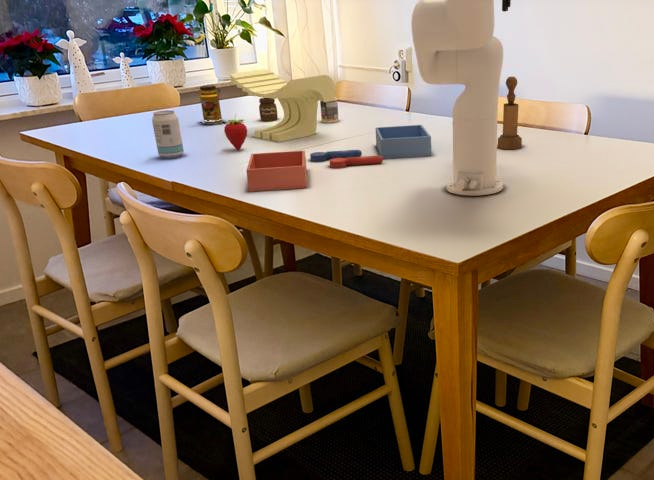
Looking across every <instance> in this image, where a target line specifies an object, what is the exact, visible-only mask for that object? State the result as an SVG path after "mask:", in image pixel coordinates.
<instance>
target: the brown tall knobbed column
mask: <svg viewBox="0 0 654 480" xmlns="http://www.w3.org/2000/svg"><path fill="white" fill-rule="evenodd" d="M517 85H518V78H517V77H515V76H508V77H507V78H506V80H505V86H506V88H507V90H508V93H507V95H506V98H507V103H503V117H502V134H501V135H500V136H499V137H497V149H498V148H499V149H500V150H517V149H520V148H522V147H523V144H522V143H523V138H522V137H521V135H519V134H518V128H519V127H518V123H519V107H520V106H519V104H518V103H515V100H516V94H515V89H516V87H517Z"/></svg>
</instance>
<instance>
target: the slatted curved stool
mask: <svg viewBox="0 0 654 480" xmlns="http://www.w3.org/2000/svg"><path fill="white" fill-rule="evenodd" d="M229 77H230V84H231V85H236V88H238V89H242V92H243V93H247V95H248V96H251V97H258V98H259V97H261V98H272V99H274V100H277V101H278V102H279V104H280V106H281V108H282V110H283V119H282V120H281V121H280V122H278V123H276V124H275V125H272V126H268V127H266V128H262V129H258V130H254V134H253V137H254V138H257V139H263V140H267V141H274V142H278V143H279V142H285V141H289V140H295V139H299V138H304V137H308V136H312V135H314V134H315V133H316V131H317V126H318V109H319V108H318V107H319V102H320V101H323V102H330V101H335V97H336V88H335V83H334V80H333V78H332V77H331V76H330V75H327V74H321V75H314V76H309V77H302V78H296V79H290V80H289V81H288V82H287V81H286V80H285V79H282V78H281V77H280V76H278V75H276V74H275V72H273V71H271V70H269V69H264V68H263V69H256V70H250V71H242V72H234V73H229Z"/></svg>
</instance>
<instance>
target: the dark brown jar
mask: <svg viewBox="0 0 654 480" xmlns="http://www.w3.org/2000/svg"><path fill="white" fill-rule="evenodd" d="M258 98H259V99H258V102H259V107H258V111H259V118H260V120H261V121H262V122H274V121H277V120H278V119H279V118H278V117H279V116H278V108H277V104H276V103H275V102H276V99H272V98H267V97H266V98H264V97H258Z"/></svg>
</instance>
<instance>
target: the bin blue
mask: <svg viewBox="0 0 654 480" xmlns="http://www.w3.org/2000/svg"><path fill="white" fill-rule="evenodd" d="M375 144H376V145H375V146H376V148H377V150H378V153H379V156H382V158H383V160H386V159H401V158H417V157H431V156H432V136H431V135H430V133H429V132H428V131H427V129H426V128H425V127H424V125H423V124H412V125H396V126H395V125H394V126H378V127H375Z"/></svg>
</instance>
